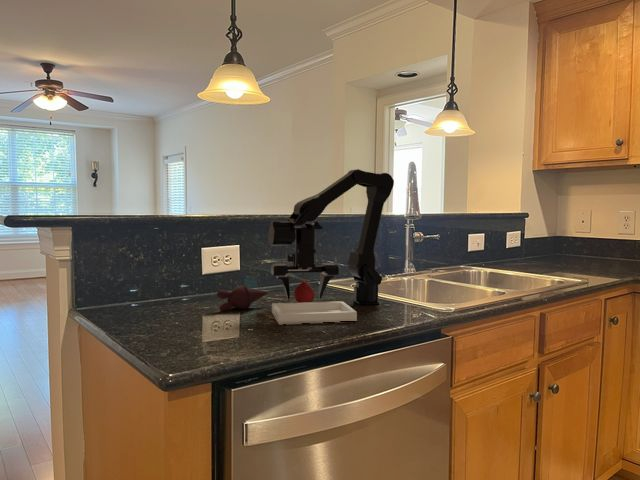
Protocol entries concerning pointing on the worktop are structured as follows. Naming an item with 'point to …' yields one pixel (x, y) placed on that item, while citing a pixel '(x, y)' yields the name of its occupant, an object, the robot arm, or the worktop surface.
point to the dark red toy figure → (240, 297)
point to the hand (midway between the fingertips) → (304, 299)
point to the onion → (304, 292)
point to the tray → (312, 312)
